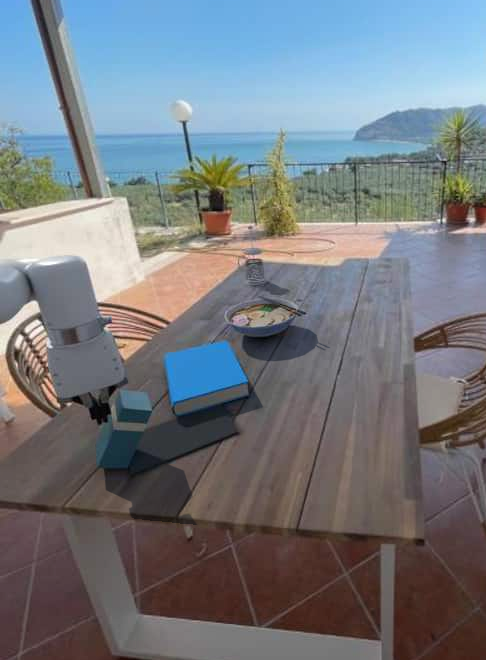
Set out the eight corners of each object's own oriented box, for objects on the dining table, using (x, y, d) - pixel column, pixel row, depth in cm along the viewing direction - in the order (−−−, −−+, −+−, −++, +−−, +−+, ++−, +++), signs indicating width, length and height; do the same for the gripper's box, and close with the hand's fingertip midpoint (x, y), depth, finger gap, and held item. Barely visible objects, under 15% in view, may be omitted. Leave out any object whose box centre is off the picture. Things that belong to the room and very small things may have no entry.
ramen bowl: (212, 331, 126) (208, 308, 124) (271, 311, 142) (269, 290, 139) (253, 358, 110) (250, 333, 107) (315, 332, 126) (314, 309, 123)
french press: (266, 284, 169) (261, 227, 161) (239, 286, 167) (232, 228, 159) (267, 277, 178) (262, 223, 170) (241, 279, 176) (235, 224, 168)
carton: (96, 468, 70) (123, 408, 69) (95, 445, 75) (119, 389, 75) (127, 468, 73) (152, 410, 73) (123, 446, 78) (147, 392, 78)
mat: (130, 476, 71) (130, 474, 71) (124, 438, 80) (123, 436, 80) (238, 432, 82) (238, 431, 82) (221, 403, 91) (221, 402, 91)
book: (226, 339, 113) (249, 379, 92) (228, 353, 114) (251, 394, 94) (161, 354, 105) (170, 401, 84) (164, 368, 106) (173, 418, 86)
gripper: (125, 311, 72) (145, 395, 78) (21, 333, 64) (53, 424, 70) (129, 326, 66) (151, 415, 72) (16, 352, 58) (51, 449, 64)
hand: (102, 419), depth 71 cm, fingers closed
